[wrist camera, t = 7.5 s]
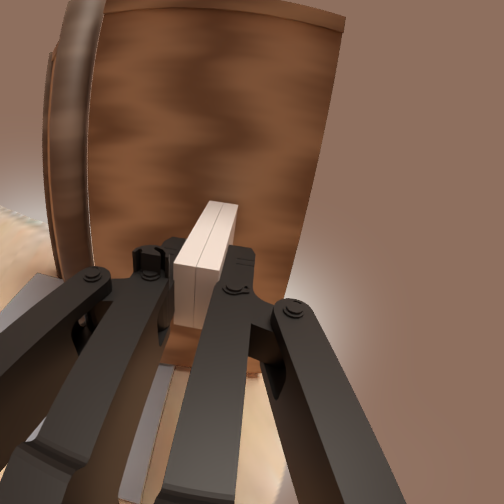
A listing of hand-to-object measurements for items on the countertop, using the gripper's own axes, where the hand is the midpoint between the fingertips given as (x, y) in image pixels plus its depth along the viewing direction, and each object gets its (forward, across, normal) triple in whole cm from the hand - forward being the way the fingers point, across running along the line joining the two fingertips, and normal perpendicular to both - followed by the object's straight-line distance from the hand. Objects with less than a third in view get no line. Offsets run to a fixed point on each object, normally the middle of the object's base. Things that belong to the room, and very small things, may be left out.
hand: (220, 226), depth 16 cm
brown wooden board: (+1, -2, -12) cm, 13 cm away
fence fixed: (+5, -15, -13) cm, 20 cm away
